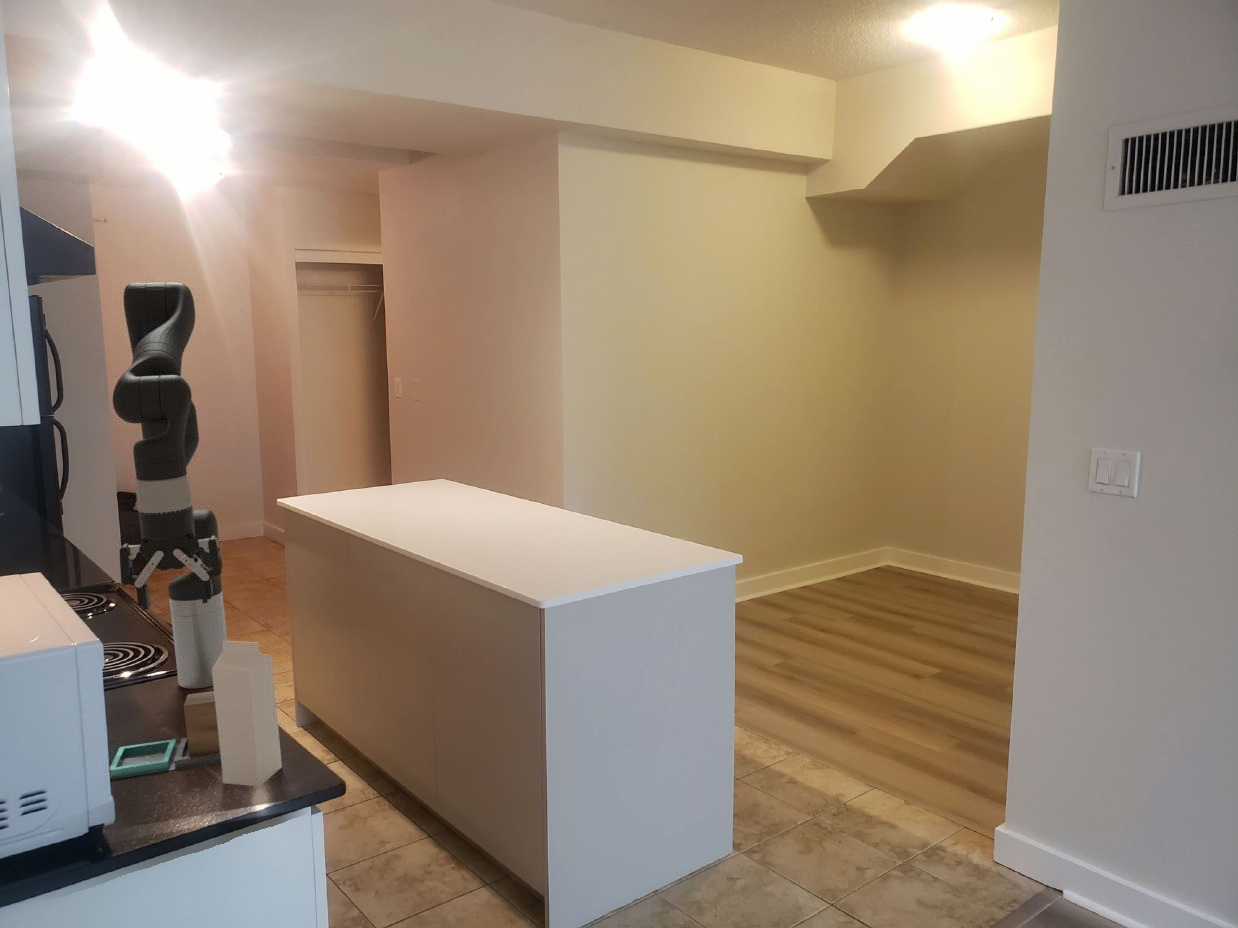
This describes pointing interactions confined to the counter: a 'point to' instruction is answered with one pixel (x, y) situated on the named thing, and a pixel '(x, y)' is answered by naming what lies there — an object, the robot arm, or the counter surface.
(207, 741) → the walnut block
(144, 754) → the trays
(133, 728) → the counter surface
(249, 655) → the milk
